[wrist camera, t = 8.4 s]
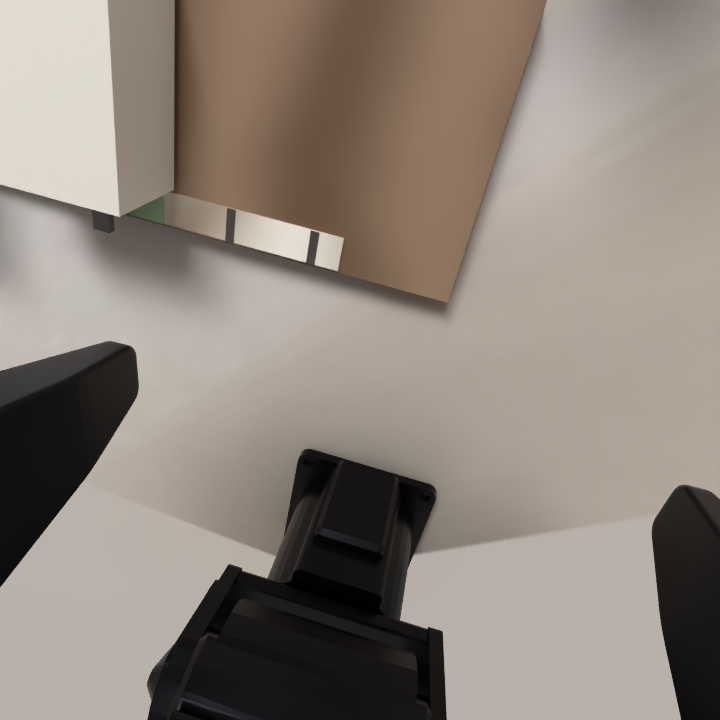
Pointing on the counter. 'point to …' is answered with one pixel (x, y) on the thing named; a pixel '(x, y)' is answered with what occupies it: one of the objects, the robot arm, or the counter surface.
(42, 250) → the counter surface
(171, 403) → the counter surface
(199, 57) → the base
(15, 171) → the gauge carriage
